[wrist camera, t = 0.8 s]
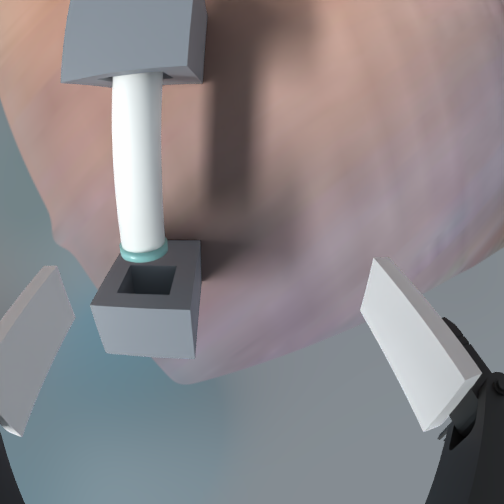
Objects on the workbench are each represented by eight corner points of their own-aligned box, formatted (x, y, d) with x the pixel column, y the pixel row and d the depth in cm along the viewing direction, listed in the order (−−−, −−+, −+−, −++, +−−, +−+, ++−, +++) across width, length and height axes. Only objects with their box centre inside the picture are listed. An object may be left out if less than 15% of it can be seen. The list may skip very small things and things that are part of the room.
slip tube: (131, -14, 15) (116, -31, 12) (179, -20, 16) (171, -40, 12) (128, 239, 27) (114, 262, 23) (171, 240, 27) (163, 263, 24)
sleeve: (125, 23, 22) (73, -14, 10) (207, 16, 23) (197, -36, 11) (120, 88, 25) (60, 82, 14) (202, 83, 26) (187, 66, 15)
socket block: (128, 240, 34) (90, 305, 22) (200, 240, 35) (190, 309, 23) (134, 281, 36) (106, 352, 25) (201, 282, 37) (194, 358, 26)
